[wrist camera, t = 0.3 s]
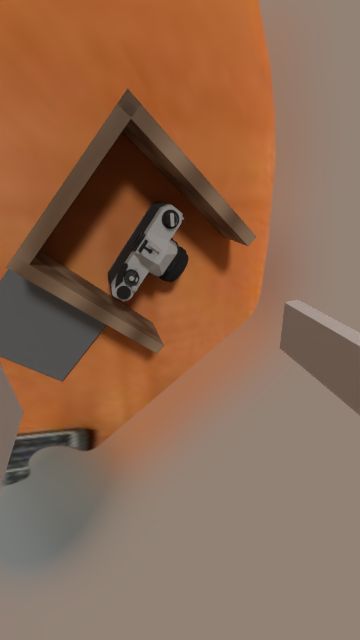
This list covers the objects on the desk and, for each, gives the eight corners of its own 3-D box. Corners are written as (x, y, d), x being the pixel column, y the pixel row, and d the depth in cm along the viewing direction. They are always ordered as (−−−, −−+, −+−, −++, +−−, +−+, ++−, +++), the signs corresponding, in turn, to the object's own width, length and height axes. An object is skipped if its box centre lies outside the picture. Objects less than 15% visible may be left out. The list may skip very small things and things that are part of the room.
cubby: (20, 252, 33) (6, 267, 27) (118, 107, 29) (127, 88, 23) (146, 330, 43) (157, 353, 37) (230, 228, 39) (256, 236, 34)
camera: (147, 303, 41) (165, 326, 33) (100, 279, 37) (108, 299, 29) (192, 227, 39) (222, 233, 31) (147, 193, 35) (169, 191, 27)
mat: (-39, 337, 35) (-40, 340, 34) (11, 265, 33) (10, 266, 32) (62, 378, 42) (61, 381, 41) (107, 321, 40) (108, 322, 39)
